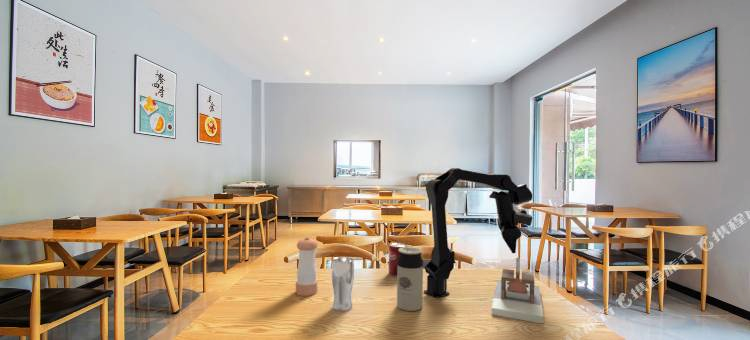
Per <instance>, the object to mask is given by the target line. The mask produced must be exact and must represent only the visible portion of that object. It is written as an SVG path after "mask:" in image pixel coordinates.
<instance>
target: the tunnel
mask: <svg viewBox="0 0 750 340" xmlns="http://www.w3.org/2000/svg"><path fill="white" fill-rule="evenodd" d="M501 272H502V273H501V276H500V277H501V278H500V279H501V280H500V281H501V299H504V298H505V290H506V282H514V278H515V270H514V269H509V268H502V271H501ZM534 275H535V274H534V272H531V271H523V270H521V279H522V283H524V284H528V285H530V304H534V285H535V276H534Z"/></svg>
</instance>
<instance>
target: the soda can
mask: <svg viewBox="0 0 750 340" xmlns="http://www.w3.org/2000/svg"><path fill="white" fill-rule="evenodd" d="M403 247H408V246H407V244H405V243H401V242H395V243H390V244H389V245H388V274H389V275H390V276H393V277H397V266H398V258H399V256H400V253H399V249H400V248H403Z"/></svg>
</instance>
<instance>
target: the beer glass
mask: <svg viewBox="0 0 750 340" xmlns="http://www.w3.org/2000/svg"><path fill="white" fill-rule="evenodd" d="M354 260H355V259H354V258H352V257H349V256H337V257H334V258H332V261H331V283H332V288H333V297H334V299H333V303H332V304H333V305H332V309H333V310H334V311H335V312H336V311H337V312H348V311H350V310H352V308H353V302H352V301H353V300H352V292H353V291H352V290H353V285H354V279H355V263H354Z"/></svg>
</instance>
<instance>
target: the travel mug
mask: <svg viewBox="0 0 750 340" xmlns="http://www.w3.org/2000/svg"><path fill="white" fill-rule="evenodd" d="M399 253H400V256H399V258H398V266H397V276H396V279H397V280H396V284H397V285H396V305H397V307H398V308H399V309H401V310H403V311H405V312H406V311H407V312H415V311H419V310H420V309H422V308H423V293H424V290H423V288H424V287H423V284H424V281H423V279H424V276H423V275H424V272H423V271H424V260H423V258H422V253H423V249H422V248H421V247H414V246H413V247H412V246H407V247H403V248H400V249H399Z"/></svg>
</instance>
